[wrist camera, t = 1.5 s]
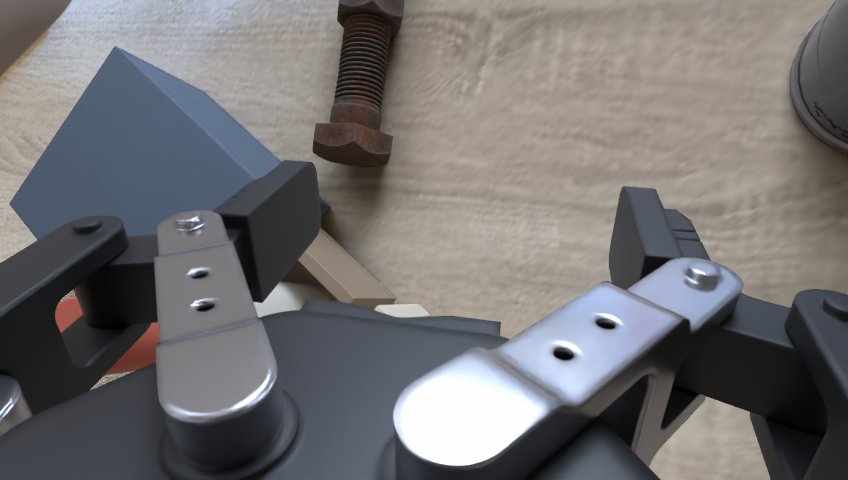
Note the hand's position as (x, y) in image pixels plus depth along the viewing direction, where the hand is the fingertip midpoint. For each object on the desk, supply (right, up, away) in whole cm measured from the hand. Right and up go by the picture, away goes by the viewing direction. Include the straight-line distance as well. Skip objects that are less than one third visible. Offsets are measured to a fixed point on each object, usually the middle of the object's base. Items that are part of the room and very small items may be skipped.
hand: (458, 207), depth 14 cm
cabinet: (-18, +1, +29) cm, 34 cm away
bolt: (-4, +12, +25) cm, 28 cm away
